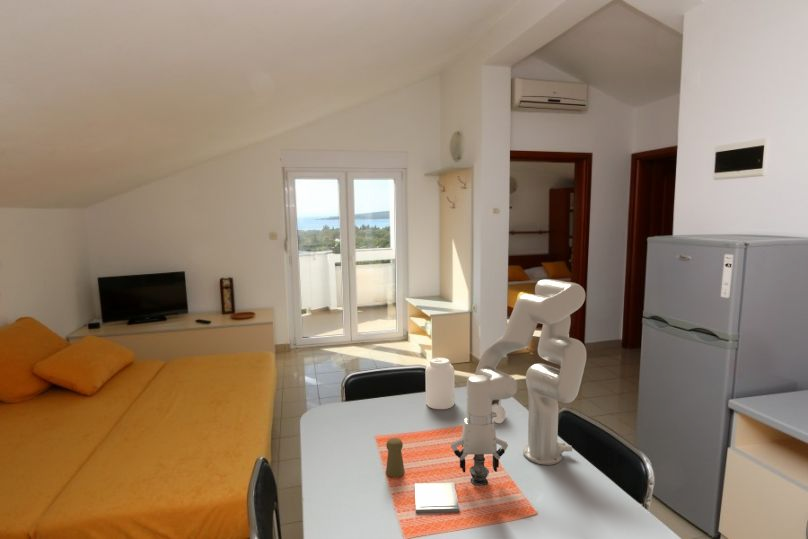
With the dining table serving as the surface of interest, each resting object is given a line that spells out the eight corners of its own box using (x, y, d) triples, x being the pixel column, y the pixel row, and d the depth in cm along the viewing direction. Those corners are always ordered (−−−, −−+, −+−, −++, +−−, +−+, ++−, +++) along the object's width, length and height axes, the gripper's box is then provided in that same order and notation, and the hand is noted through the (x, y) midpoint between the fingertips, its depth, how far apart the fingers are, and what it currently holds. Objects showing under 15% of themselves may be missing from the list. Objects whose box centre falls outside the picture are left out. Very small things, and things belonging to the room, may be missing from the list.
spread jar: (486, 408, 189) (486, 382, 188) (511, 415, 182) (512, 388, 181) (473, 419, 179) (473, 391, 178) (499, 427, 173) (499, 398, 171)
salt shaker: (488, 488, 135) (488, 450, 133) (469, 486, 136) (468, 448, 134) (489, 476, 140) (489, 440, 139) (470, 474, 142) (470, 439, 140)
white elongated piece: (424, 409, 190) (423, 363, 187) (427, 397, 202) (426, 354, 199) (453, 411, 187) (453, 364, 185) (455, 398, 200) (455, 355, 197)
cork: (390, 479, 140) (390, 446, 139) (382, 470, 145) (381, 438, 144) (407, 474, 143) (407, 441, 141) (399, 465, 148) (398, 433, 147)
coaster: (454, 485, 136) (454, 482, 136) (459, 511, 124) (459, 507, 124) (414, 486, 136) (414, 483, 136) (416, 512, 124) (415, 509, 124)
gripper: (504, 410, 139) (504, 462, 141) (449, 412, 139) (449, 463, 141) (510, 421, 132) (510, 476, 134) (452, 423, 132) (452, 477, 134)
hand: (479, 469), depth 138 cm, fingers open, 9 cm apart
